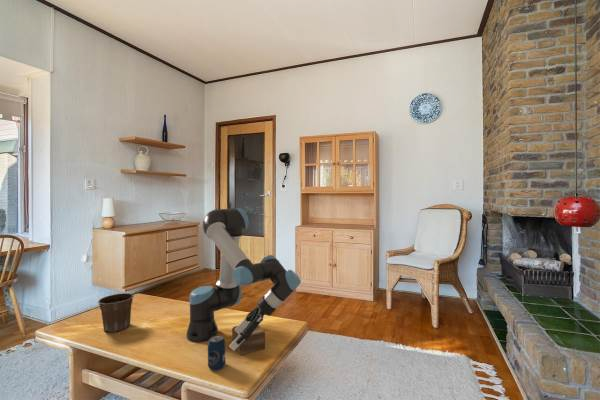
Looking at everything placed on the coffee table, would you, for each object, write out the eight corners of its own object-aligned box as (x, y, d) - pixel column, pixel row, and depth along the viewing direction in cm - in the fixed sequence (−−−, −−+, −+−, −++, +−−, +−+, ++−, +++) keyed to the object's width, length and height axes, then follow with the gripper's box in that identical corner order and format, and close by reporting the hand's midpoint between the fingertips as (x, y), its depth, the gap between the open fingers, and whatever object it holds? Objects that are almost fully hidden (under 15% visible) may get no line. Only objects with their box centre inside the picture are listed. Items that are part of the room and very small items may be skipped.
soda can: (204, 370, 121) (204, 341, 121) (213, 361, 128) (212, 333, 127) (220, 372, 119) (220, 343, 119) (228, 363, 126) (227, 335, 126)
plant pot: (96, 327, 161) (96, 297, 161) (130, 318, 172) (129, 290, 172) (101, 337, 149) (100, 306, 149) (137, 328, 160) (136, 298, 159)
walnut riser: (232, 343, 143) (232, 326, 143) (256, 337, 149) (255, 321, 148) (239, 355, 132) (239, 337, 132) (265, 348, 138) (264, 331, 138)
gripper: (276, 321, 111) (236, 362, 111) (277, 297, 136) (244, 331, 136) (261, 307, 111) (221, 349, 110) (265, 286, 136) (232, 320, 135)
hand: (234, 339), depth 123 cm, fingers open, 13 cm apart
